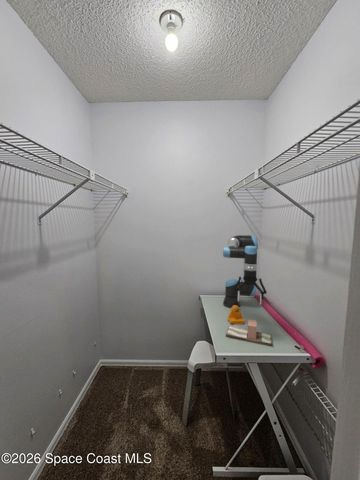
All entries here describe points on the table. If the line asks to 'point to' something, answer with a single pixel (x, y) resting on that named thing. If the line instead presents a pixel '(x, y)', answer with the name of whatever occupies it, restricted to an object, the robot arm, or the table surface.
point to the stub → (252, 329)
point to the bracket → (235, 316)
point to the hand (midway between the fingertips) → (249, 302)
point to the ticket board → (243, 335)
